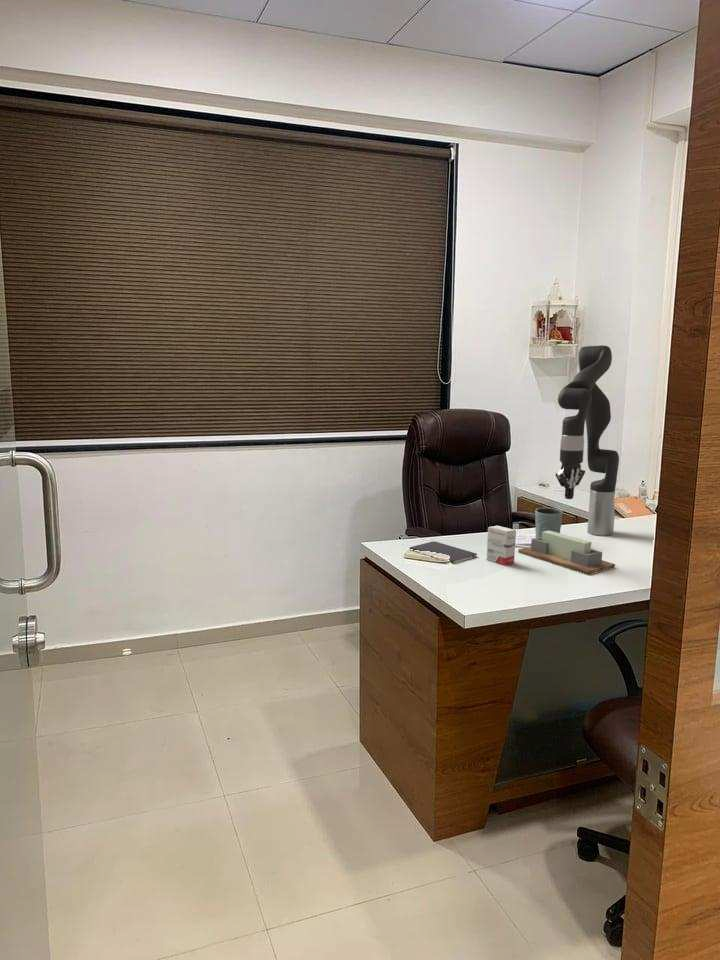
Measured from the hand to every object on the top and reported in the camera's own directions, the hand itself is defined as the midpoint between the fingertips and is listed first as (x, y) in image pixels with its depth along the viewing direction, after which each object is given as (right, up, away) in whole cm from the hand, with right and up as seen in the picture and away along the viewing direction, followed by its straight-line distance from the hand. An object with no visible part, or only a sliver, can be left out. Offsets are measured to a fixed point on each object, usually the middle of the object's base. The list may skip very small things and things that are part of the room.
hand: (568, 498), depth 238 cm
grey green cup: (0, -17, +27) cm, 32 cm away
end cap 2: (+5, -21, -3) cm, 22 cm away
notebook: (-41, -20, +11) cm, 47 cm away
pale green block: (0, -20, +4) cm, 20 cm away
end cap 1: (-5, -19, +11) cm, 22 cm away
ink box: (-23, -22, +2) cm, 32 cm away
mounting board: (0, -21, +4) cm, 22 cm away
